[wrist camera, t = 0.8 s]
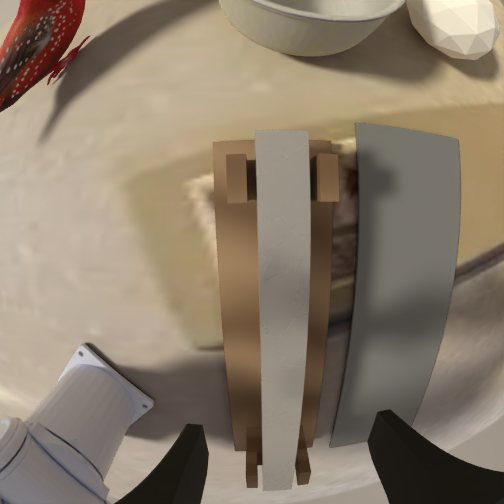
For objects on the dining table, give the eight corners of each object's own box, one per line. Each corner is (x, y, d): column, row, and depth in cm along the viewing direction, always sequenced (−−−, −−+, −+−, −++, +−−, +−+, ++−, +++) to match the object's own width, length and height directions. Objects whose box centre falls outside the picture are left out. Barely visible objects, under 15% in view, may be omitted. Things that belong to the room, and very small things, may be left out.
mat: (408, 428, 22) (409, 430, 22) (329, 445, 22) (329, 448, 22) (456, 139, 16) (458, 139, 16) (355, 123, 16) (356, 122, 16)
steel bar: (289, 469, 18) (291, 489, 16) (262, 471, 18) (263, 490, 16) (299, 139, 13) (307, 130, 11) (254, 139, 13) (254, 130, 11)
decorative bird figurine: (139, 9, 14) (86, -65, 4) (5, 174, 17) (-81, 179, 7) (121, -2, 14) (69, -68, 4) (-6, 155, 16) (-85, 155, 7)
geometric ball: (413, 26, 16) (454, -22, 9) (472, 85, 15) (522, 37, 8) (369, 3, 13) (417, -61, 6) (447, 70, 12) (511, 3, 5)
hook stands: (310, 439, 22) (321, 490, 16) (235, 443, 22) (232, 495, 16) (326, 143, 17) (362, 122, 11) (214, 144, 17) (196, 121, 11)
